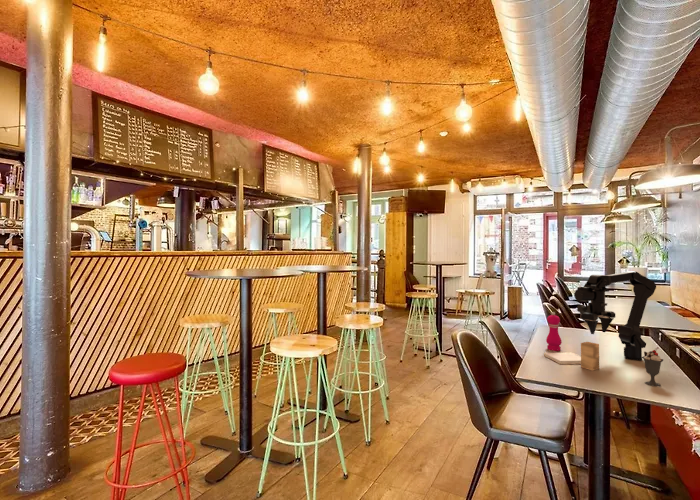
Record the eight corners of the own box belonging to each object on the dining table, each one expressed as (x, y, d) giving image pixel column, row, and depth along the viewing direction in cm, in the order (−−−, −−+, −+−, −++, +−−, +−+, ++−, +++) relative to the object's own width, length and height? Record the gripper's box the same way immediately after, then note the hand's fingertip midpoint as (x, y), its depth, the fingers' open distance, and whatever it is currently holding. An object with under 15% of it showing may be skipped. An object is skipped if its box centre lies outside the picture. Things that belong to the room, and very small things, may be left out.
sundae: (665, 388, 140) (665, 349, 140) (643, 385, 144) (642, 346, 144) (662, 383, 146) (661, 345, 146) (640, 380, 149) (640, 343, 150)
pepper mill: (563, 351, 193) (563, 313, 194) (548, 350, 195) (548, 313, 195) (558, 348, 201) (558, 311, 201) (544, 347, 202) (544, 310, 202)
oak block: (588, 365, 169) (587, 341, 169) (599, 368, 165) (599, 344, 165) (581, 367, 167) (580, 342, 167) (592, 370, 163) (592, 345, 163)
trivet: (571, 355, 186) (571, 352, 186) (590, 363, 172) (589, 360, 172) (544, 355, 186) (544, 352, 186) (560, 364, 172) (560, 360, 172)
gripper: (592, 298, 190) (592, 328, 190) (569, 300, 181) (569, 331, 181) (615, 300, 180) (616, 332, 180) (592, 302, 171) (593, 336, 171)
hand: (598, 333), depth 178 cm, fingers open, 9 cm apart
